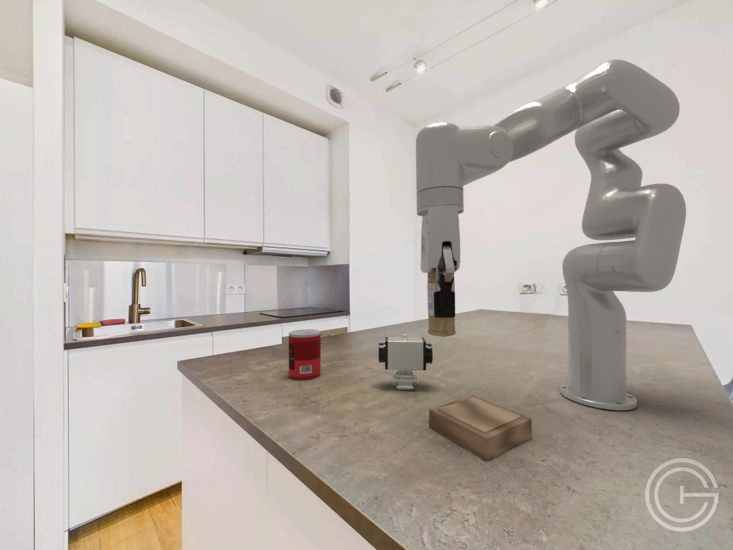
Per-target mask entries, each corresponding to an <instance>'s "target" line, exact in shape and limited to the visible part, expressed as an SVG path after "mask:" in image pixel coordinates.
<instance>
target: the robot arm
mask: <svg viewBox="0 0 733 550" xmlns="http://www.w3.org/2000/svg"><path fill="white" fill-rule="evenodd" d="M680 109H681V106H680V102H679V98H678V97H677V95H676V93H675V92H674V91H673V90H672V89H671V87H669V86H668V85H666V84H665V83H664V82H662V81H660V80H659V79H658V78H656V76H653V75H651V73H649V72H648V71H646V70H645V69H643V68H642V67H640V66H638V65H636V64H634V63H632V62H630V61H627V60H624V59H608V60H605V61H604V62H602V63H600V64H598V65H597V66H595V67H593V68H592V69H591V70H589V71H588V72H586V73H584V74H582V75H581V76H579V77H578V78H576V79H575V80H572V81H571V82H569V83H567V84H566V85H564V86H562V87H560V88H558V89H556V90H553V91H552V92H550V93H547V94H546V95H545V94H544V96H541V97H540V98H537V99H534V100H533V101H531V102H528V103H526V104H524V105H522V106H521V107H519V108H518V109H516V110H514V111H512V112H510V114H508V115H507V116H505V117H503V118H502V119H501V120H500V121H498V122H497V123H495V124H494V125H490V124H489V125H487V124H486V125H485V124H484V125H474V126H473V125H471V126H470V125H467V126H458V125H456V124H455V123H451V122H444V121H442V122H441V121H440V122H436V123H435V122H434V123H430V124H428V125H426V126H425V127H423V128H421V129H420V130H419V131H418V133H417V135H416V138H415V173H416V174H415V177H416V178H415V179H416V183H415V185H416V215H417V216H419V217H421V230H420V231H421V237H420V271H421V272H422V273H423V274H428V273H430V272H432V268H434V269H435V287H436V292H434V316H435V317H436V318H454V317H456V292H455V291H456V287H455V286H456V285H455V273H456V272H457V271H458V270H460V267H461V235H460V234H461V233H460V219H459V215H461V214H462V213H464V212H465V210H464V207H465V206H464V203H465V201H464V186H466V185H468V184H470V183H472V182H475V181H477V180H479V179H482V178H484V177H487V176H489V175H492V174H495V173H496V172H498V171H500V170H501V169H503V168H504V167H506V166H507V165H508V164H509V163H511V162H514V161H516V160H519V159H522V158H524V157H527V156H529V155H531V154H533V153H535V152H538V151H539V150H541V149H543V148H545V147H547V146H548V145H550V144H552V143H554V142H556V141H558V140H559V139H561V138H563V137H565V136H566V135H568V134H570V133H572V132H574V131H575V134H574V144H575V147H576V150H577V151H578V153H579V155H580V157H582V159H583V161H584V162H585V164H586V166H587V168H588V170H589V173H590V183H589V190H588V194H587V198H586V202H585V207H584V210H583V214H582V220H581V229H582V233H583V234H584V235H585V236H586V237H587V238H588V239H591V240H593V241H607V242H597V243H590V244H589V243H588V244H583V245H581V246H577V247H574V248H572V249H571V250H570V251H568V252H567V253H566V255H565V256H564V258H563V261H562V268H561V269H562V275H563V280H564V283H565V289H566V294H567V308H568V309H567V311H568V312H567V313H568V314H567V315H568V321H567V325H568V328H567V329H568V330H567V331H568V335H567V336H568V337H567V339H568V340H567V341H568V347H567V348H568V349H567V351H568V352H567V353H568V354H567V356H568V357H567V358H568V361H567V363H568V366H567V367H568V369H567V370H568V371H567V372H568V374H567V375H568V378H567V379H568V382H564V383H562V384H560V386H559V393H561V395H563V396H564V397H565V398H567V399H568V400H570V401H573V402H575V403H577V404H581V405H585V406H587V407H588V406H589V407H592V408H596V409H603V410H612V411H629V410H633V409H635V408H637V406H638V400H637V398H636V397H635V396H634V395H632V394H630V393H628V391H627V380H628V377H627V314H626V310H625V307H624V305H623V303H622V302H621V301H620V298H618V297H617V295H616V294H615V292H628V293H629V292H630V293H632V292H633V293H652V292H653V293H654V292H658V291H661V290H662V291H663V290H664V289H665V288H667V287H668V286H670V283H671V282H672V280H673V278H674V276H675V272H676V268H677V266H678V265H677V263H678V260H679V259H678V258H679V254H680V249H681V245H682V239H683V235H684V230H685V226H686V219H687V207H686V206H687V205H686V201H685V198H684V195H683V193H682V191H680V189H679V188H678V187H677V186H675V185H672V184H669V183H653V184H652V183H651V184H647V185H642V181H643V170H642V168H641V166H640V165H639V163H637V161H635V160H634V159H632V158H631V157H629V156H628V155H626V154H625V153H624V152H623V151H621V148H624V147H627V146H629V145H630V146H631V145H633V144H635V143H638V142H642V141H645V140H647V139H650V138H653V137H655V136H658V135H660V134H662V133H665V132H666V131H668V130H669V129H671V127H672V126H674V125H675V124H676V123H677V122H676V121H677V120H678V118H679V115H680ZM625 239H633V240H625ZM614 240H615V241H614ZM616 240H617V241H616ZM618 240H623V241H618ZM453 257H454V263H453ZM438 268H444V271H438ZM440 276H441V277H440Z"/></svg>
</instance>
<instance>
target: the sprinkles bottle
mask: <svg viewBox="0 0 733 550" xmlns="http://www.w3.org/2000/svg"><path fill="white" fill-rule="evenodd" d="M453 263H454V257H453ZM438 271H444V268H438ZM440 277H441V276H440ZM426 285H427V286H426V288H427V289H426V290H427V316H428V317H427V318H428V330H427V333H428V334H429V335H430V336H433V337H442V338H444V337H451V336H455V334H456V333H457V332H456V327H455V325H456V324H455V322H456V320H455V317H456V316H455V317H454V318H436V317H435V316H434V292H436V287H435V269H434V268H432V272H430V273H427V284H426Z"/></svg>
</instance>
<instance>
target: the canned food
mask: <svg viewBox="0 0 733 550" xmlns="http://www.w3.org/2000/svg"><path fill="white" fill-rule="evenodd" d="M321 335H322V334H321V331H320V330H319V329H311V328H310V329H304V328H303V329H295V330H291V331H289V332H288V375H289V378H290V379H292V380H294V379H295V381H308V380H307V379H309V380H312V378H313V379H316V378H318V377H319V376H320V374H321V371H322V370H321V362H322V361H321V360H322V359H321V354H322V353H321V349H322V348H321V347H322V346H321V340H322V339H321ZM317 376H318V377H317ZM315 377H316V378H315Z"/></svg>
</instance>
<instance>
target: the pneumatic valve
mask: <svg viewBox="0 0 733 550" xmlns="http://www.w3.org/2000/svg"><path fill="white" fill-rule="evenodd" d="M433 357H434V355H433V345H432V343H427V341H426V338H424V337H408V334H407V333H406V334H405V333H403V334H402V337H401V336H399V337H397V336H396V337H395V336H385V338H384V340H383V342H378V364H379V363H382V364H383V365H384V367H385V368H384V369H385V370H388V371H389V370H393V371H394V370H395V374H393V375H392V377H393V378H392V383H393V384H392V385H393V386H395V388H396V390H398V391H413V390H415V387H417V386H418V375H417V374H414V371H427V367H428V365H431V364H433V359H434V358H433Z"/></svg>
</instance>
